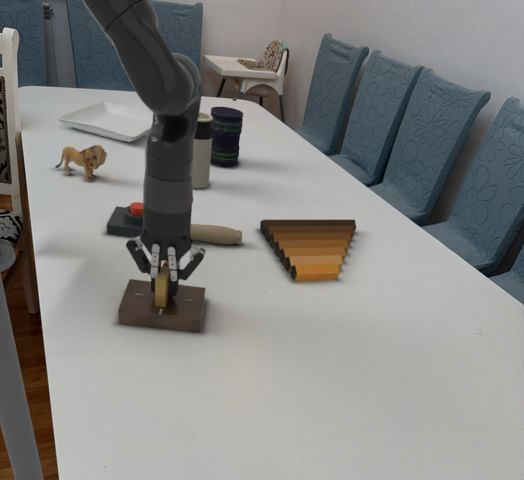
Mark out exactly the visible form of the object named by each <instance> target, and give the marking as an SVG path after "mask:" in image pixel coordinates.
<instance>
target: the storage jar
mask: <svg viewBox="0 0 524 480" xmlns="http://www.w3.org/2000/svg"><path fill="white" fill-rule="evenodd" d="M232 102H237V98H232ZM210 115H211V116H212V117H213V120H212V121H211V127H212V130H213V136H212V148H211V160H210V166H214V167H218V168H223V169H225V168H226V169H231V168H236V167H237V166H238V163H239V162H238V161H239V157H240V148H241V147H240V140H241V134H242V131H243V130H242V129H243V125H244V124H243V123H244V122H243V121H244V113H243V111H242V110H240V109H236V108H233V107H230V106H229V107H227V106H213V107H211V108H210Z"/></svg>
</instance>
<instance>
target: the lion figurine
mask: <svg viewBox="0 0 524 480" xmlns="http://www.w3.org/2000/svg"><path fill="white" fill-rule="evenodd" d="M107 157H108V152H106V151H105V148H104V147H103V146H102V145H101V144H94V145H92V146H89V147H87V148H83V150H81V151H80V150H77V149H76V148H75V147H73V146H68V145H66V146H65V147H64V148H63V149H62V152H61V159H60V162H59V164H56V165H55V166H54V167H55V168H56V169H59V168H60V167H61V166H62V165H63V163H64V169H65V174H66V176H71V175H72V172H71V171H70V170H71V168H70V166H69V164H70V163H72V162H73V163H74V164H75V165H76V166H78V167H80V168H81V167H82V168H83V170H84V173H85V180H86V181H87V182H92V180H93V179H95V178H96V175H95V174H93V173H94V170H97V169H99V167H100V166H103V165H104V164H105V162H106V160H107Z"/></svg>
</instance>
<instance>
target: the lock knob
mask: <svg viewBox="0 0 524 480" xmlns="http://www.w3.org/2000/svg"><path fill="white" fill-rule="evenodd" d="M162 263H163V264H161V269H160V271H159V273H158V275H157V277H156V279H155V306H158V307H164V308H165V307H166V304H167V302H168V300H169V298H168V288H169V279H170V270H169V262H167V261H164V262H162Z"/></svg>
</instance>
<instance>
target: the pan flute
mask: <svg viewBox="0 0 524 480" xmlns="http://www.w3.org/2000/svg"><path fill="white" fill-rule="evenodd" d="M356 229H357V224H356V219H262V220H260V222H259V232H260V233H261V234H262V236H264V239H265V240H266V242H268V244H269V247H270V248H271V249H272V250H273V252H274V255H276V257H277V258H278V257H279V261H280V263H281V265H284V270H286V272H287V273H289V274H290V278H291V279H292V281H293V282H313V281H315V282H316V281H335V280H337V279H338V276H339V275H340V271H341V269H342V267H343V266H344V265H343V264H344V260H345V258H346V257H347V253H348V251H349V249H350V247H349V246H350V245H351V243H352V239H353V237H354V235H355V232H356Z"/></svg>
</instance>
